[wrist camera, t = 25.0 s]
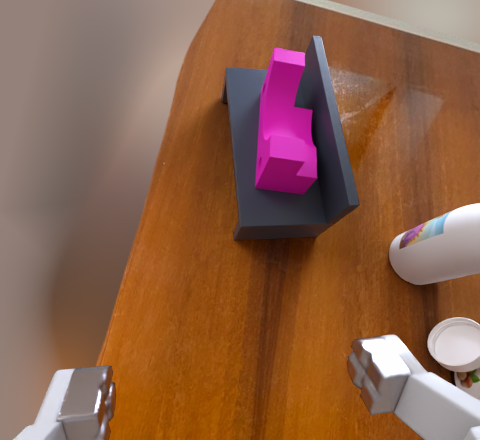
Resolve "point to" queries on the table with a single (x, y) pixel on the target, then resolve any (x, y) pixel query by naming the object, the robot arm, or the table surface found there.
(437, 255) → the milk bottle
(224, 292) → the table surface
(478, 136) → the table surface
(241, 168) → the shelf
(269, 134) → the toy block
